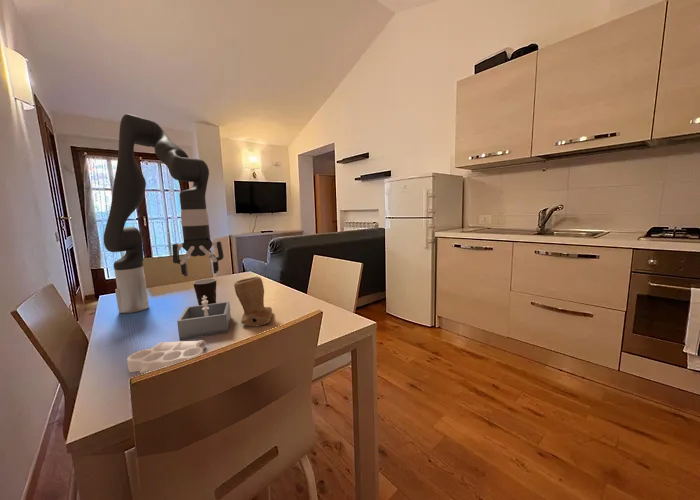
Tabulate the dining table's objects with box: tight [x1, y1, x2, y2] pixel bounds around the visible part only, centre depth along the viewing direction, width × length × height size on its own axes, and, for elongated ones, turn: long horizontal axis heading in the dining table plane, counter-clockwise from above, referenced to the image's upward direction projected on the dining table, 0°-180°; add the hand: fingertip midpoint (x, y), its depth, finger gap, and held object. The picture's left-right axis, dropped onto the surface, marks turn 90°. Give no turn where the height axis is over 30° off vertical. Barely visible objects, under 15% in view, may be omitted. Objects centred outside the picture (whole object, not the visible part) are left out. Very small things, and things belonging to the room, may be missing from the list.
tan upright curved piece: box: [233, 276, 273, 327], centre depth 101 cm, size 15×12×15 cm
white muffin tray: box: [126, 339, 206, 374], centre depth 76 cm, size 3×18×15 cm
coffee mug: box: [192, 278, 217, 305], centre depth 121 cm, size 12×9×10 cm
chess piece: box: [201, 295, 209, 317], centre depth 96 cm, size 5×5×10 cm
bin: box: [176, 301, 232, 341], centre depth 96 cm, size 14×14×6 cm
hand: (200, 274), depth 94 cm, fingers open, 8 cm apart
